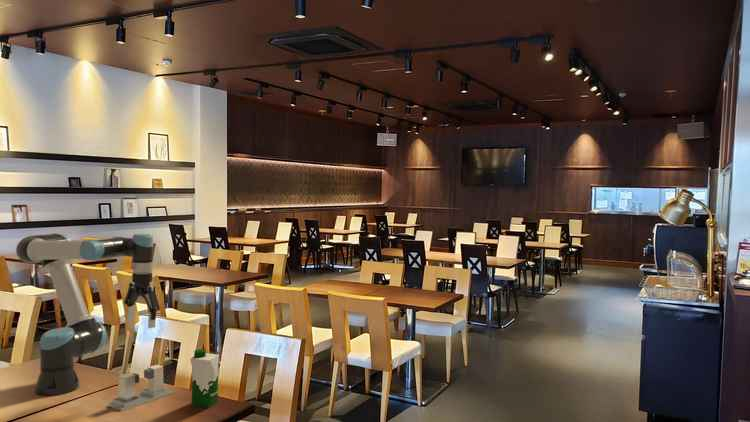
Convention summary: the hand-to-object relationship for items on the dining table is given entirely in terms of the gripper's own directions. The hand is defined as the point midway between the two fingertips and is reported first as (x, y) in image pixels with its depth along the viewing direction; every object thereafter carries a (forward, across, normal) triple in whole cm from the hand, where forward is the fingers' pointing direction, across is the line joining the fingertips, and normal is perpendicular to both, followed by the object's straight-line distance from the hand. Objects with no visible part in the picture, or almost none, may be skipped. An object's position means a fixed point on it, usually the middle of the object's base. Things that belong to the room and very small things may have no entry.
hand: (141, 324), depth 223 cm
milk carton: (+25, +35, +4) cm, 43 cm away
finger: (+24, +12, -1) cm, 27 cm away
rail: (+26, +12, -7) cm, 29 cm away
